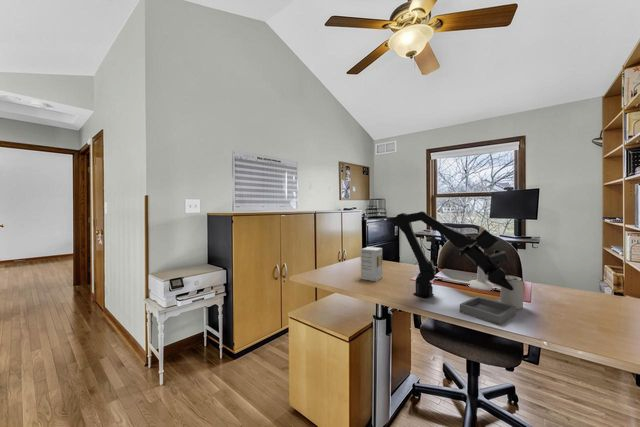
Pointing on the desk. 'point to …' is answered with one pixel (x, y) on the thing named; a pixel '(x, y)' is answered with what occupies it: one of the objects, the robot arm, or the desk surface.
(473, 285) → the candlestick
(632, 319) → the desk surface
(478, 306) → the well tray
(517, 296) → the can
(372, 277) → the supplement box
